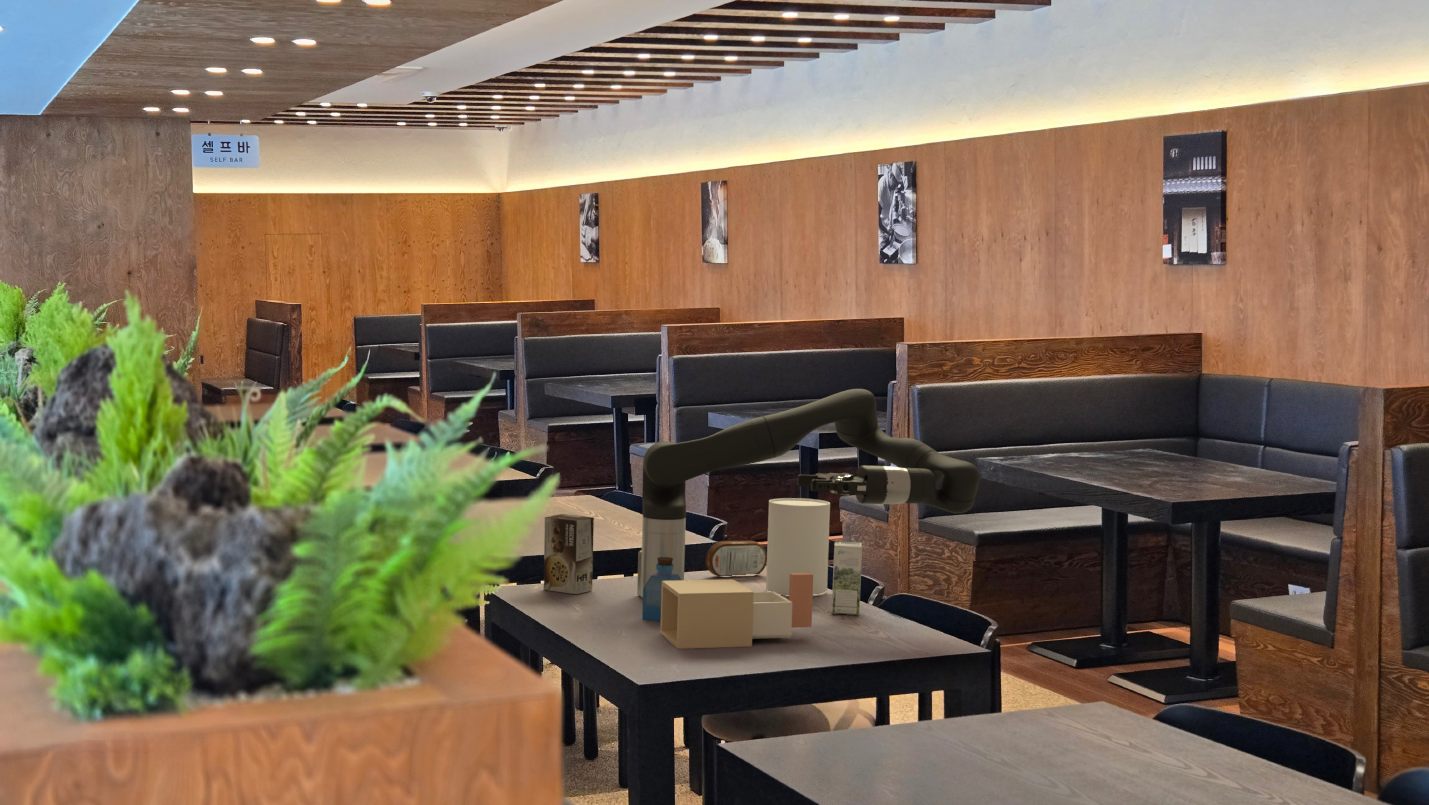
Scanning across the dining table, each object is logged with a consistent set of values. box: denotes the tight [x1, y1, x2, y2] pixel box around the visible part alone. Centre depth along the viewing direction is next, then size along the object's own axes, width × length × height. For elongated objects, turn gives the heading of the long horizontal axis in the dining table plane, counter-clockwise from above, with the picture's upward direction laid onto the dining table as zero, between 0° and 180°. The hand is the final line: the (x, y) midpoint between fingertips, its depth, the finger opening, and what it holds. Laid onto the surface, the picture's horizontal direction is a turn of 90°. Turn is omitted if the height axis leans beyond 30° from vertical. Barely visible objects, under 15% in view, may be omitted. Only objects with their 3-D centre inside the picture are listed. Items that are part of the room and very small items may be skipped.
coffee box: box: [543, 513, 595, 595], centre depth 310 cm, size 9×6×16 cm
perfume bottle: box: [641, 557, 681, 623], centre depth 283 cm, size 6×6×12 cm
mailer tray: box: [752, 573, 814, 640], centre depth 268 cm, size 18×11×11 cm, turn 106°
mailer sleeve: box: [659, 578, 755, 650], centre depth 265 cm, size 14×13×10 cm
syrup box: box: [831, 541, 863, 616], centre depth 295 cm, size 6×6×14 cm
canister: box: [765, 497, 831, 595], centre depth 317 cm, size 14×14×20 cm
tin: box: [705, 540, 767, 577], centre depth 334 cm, size 15×3×8 cm, turn 114°
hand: (804, 482), depth 278 cm, fingers open, 8 cm apart
